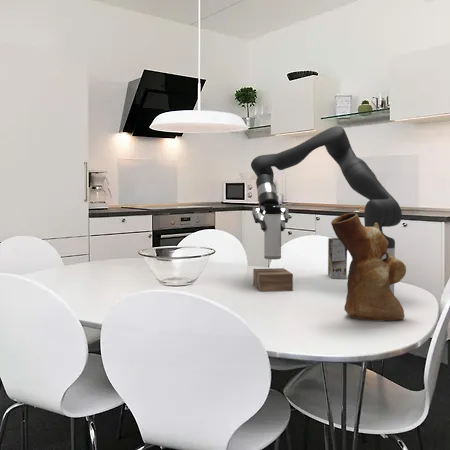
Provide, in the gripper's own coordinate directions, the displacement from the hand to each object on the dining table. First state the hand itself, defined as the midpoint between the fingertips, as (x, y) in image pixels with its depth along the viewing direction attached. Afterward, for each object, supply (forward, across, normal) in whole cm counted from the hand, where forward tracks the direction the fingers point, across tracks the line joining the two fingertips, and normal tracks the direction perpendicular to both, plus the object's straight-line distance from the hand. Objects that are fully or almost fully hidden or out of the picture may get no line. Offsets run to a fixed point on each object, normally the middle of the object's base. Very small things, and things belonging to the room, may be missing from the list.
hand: (273, 229), depth 191 cm
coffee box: (+1, +32, +31) cm, 44 cm away
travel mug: (+7, 0, +9) cm, 11 cm away
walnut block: (+14, 0, +16) cm, 22 cm away
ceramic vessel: (+48, +17, -18) cm, 54 cm away
